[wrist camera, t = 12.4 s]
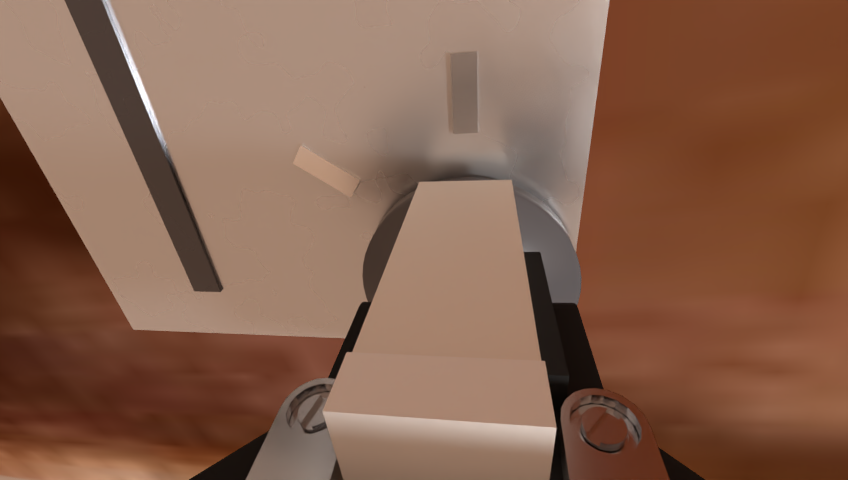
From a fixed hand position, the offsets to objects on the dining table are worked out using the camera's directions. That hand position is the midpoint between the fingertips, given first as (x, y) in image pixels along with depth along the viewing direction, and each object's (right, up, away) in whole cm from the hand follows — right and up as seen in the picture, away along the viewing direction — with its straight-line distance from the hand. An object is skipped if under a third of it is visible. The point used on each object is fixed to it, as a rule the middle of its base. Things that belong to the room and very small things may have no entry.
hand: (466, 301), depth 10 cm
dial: (0, +1, +1) cm, 1 cm away
